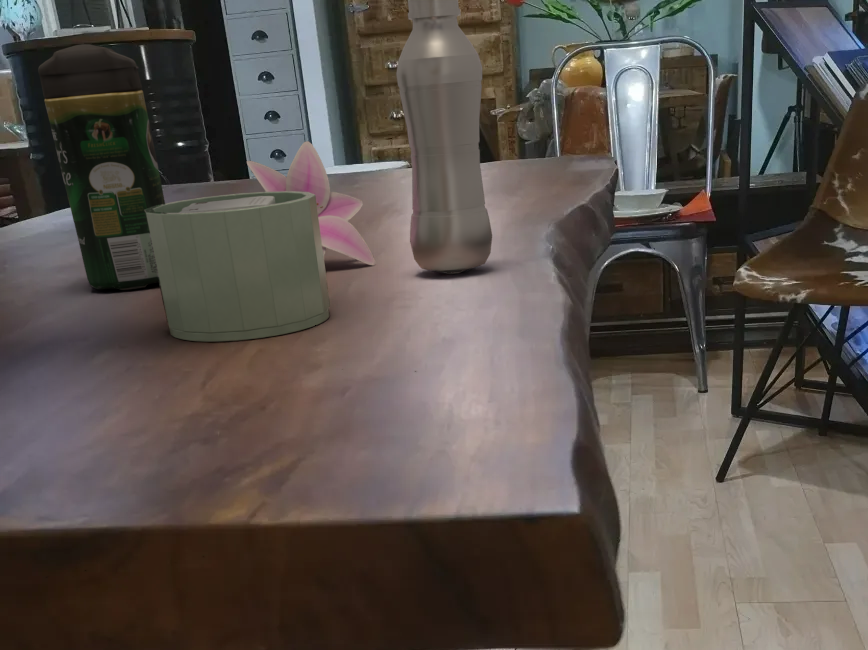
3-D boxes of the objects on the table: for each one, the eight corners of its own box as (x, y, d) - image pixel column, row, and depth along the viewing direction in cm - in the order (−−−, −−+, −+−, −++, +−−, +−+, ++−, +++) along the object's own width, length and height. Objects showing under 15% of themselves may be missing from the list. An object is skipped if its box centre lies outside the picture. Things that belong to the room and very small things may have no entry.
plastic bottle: (424, 266, 94) (399, -5, 84) (501, 263, 92) (485, -13, 83) (403, 280, 88) (374, -8, 79) (486, 277, 87) (466, -17, 78)
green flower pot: (147, 346, 73) (120, 218, 69) (197, 311, 83) (175, 197, 79) (312, 336, 72) (293, 206, 68) (342, 302, 82) (328, 187, 78)
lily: (232, 298, 93) (258, 191, 86) (216, 226, 100) (238, 123, 93) (367, 323, 98) (400, 224, 92) (342, 253, 105) (371, 157, 99)
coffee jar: (93, 279, 101) (40, 49, 92) (180, 269, 102) (136, 42, 94) (83, 296, 93) (24, 46, 84) (179, 286, 94) (130, 38, 85)
